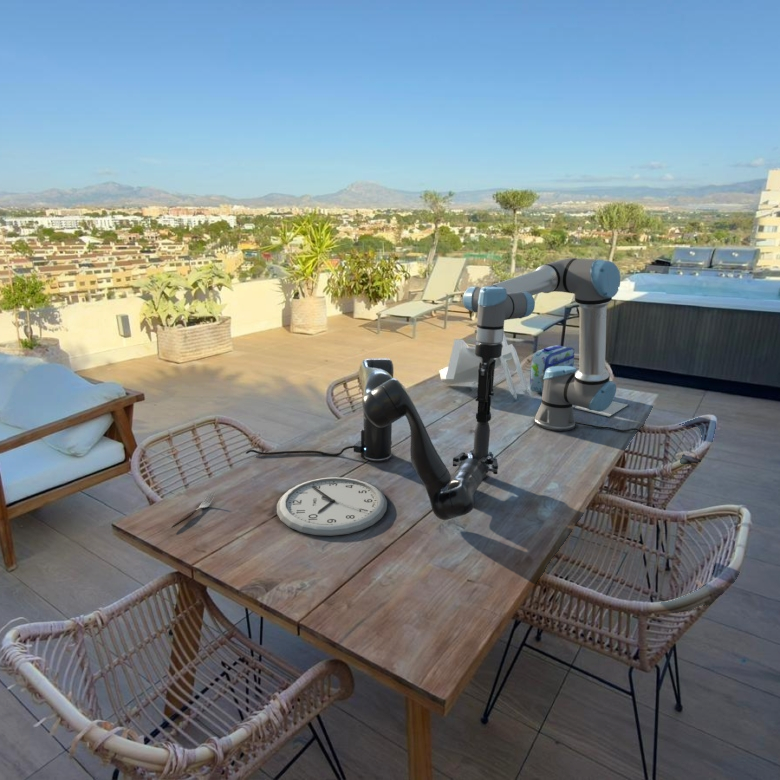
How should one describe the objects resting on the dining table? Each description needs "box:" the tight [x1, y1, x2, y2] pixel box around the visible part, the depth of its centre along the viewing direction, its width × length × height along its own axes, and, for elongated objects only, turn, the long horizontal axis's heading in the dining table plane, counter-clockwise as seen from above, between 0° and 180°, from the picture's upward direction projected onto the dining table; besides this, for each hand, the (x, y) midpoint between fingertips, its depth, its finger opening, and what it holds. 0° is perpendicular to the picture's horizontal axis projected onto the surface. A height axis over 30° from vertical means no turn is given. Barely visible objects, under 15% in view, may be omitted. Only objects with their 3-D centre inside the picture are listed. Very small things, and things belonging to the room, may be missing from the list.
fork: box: [171, 493, 217, 529], centre depth 137 cm, size 3×16×2 cm, turn 160°
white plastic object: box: [438, 332, 531, 400], centre depth 245 cm, size 37×45×31 cm
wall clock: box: [276, 476, 388, 537], centre depth 142 cm, size 30×2×30 cm
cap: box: [475, 411, 492, 422], centre depth 155 cm, size 4×4×2 cm
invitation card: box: [573, 400, 629, 418], centre depth 226 cm, size 21×1×15 cm
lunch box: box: [529, 345, 575, 394], centre depth 245 cm, size 26×11×21 cm, turn 134°
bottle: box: [473, 421, 491, 480], centre depth 158 cm, size 4×4×20 cm
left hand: (482, 453), depth 162 cm, fingers closed on bottle, 4 cm apart
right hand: (483, 419), depth 156 cm, fingers closed on cap, 4 cm apart
